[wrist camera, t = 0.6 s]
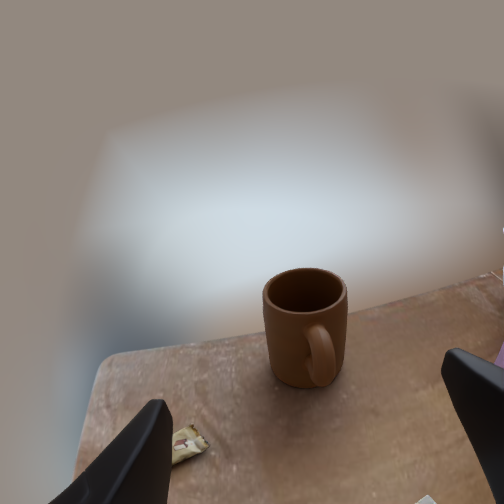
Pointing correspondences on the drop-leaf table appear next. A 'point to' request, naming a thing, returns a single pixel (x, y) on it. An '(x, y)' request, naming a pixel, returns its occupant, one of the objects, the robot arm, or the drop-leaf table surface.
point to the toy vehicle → (426, 500)
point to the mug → (305, 326)
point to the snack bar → (187, 444)
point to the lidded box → (500, 358)
